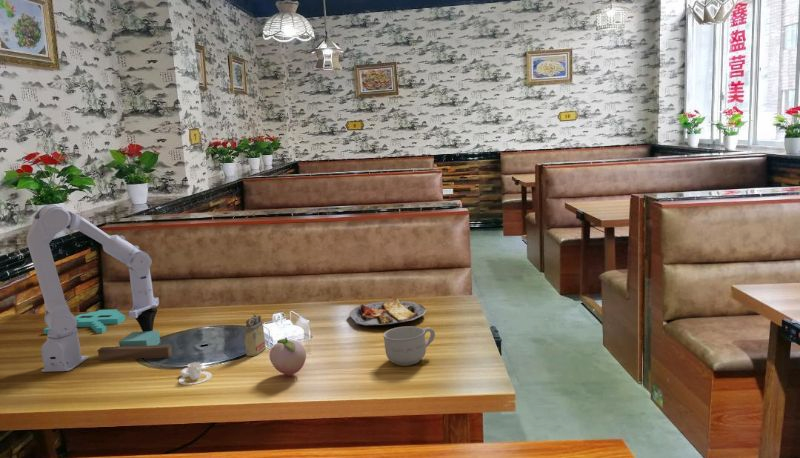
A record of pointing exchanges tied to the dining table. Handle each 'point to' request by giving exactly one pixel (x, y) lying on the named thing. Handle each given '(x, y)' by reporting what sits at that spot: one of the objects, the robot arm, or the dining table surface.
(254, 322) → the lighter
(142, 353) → the walnut board
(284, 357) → the decorative fruit
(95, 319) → the teal pixel cutout
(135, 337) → the teal block
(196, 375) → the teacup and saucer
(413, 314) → the food plate
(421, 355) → the teacup
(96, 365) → the dining table surface
